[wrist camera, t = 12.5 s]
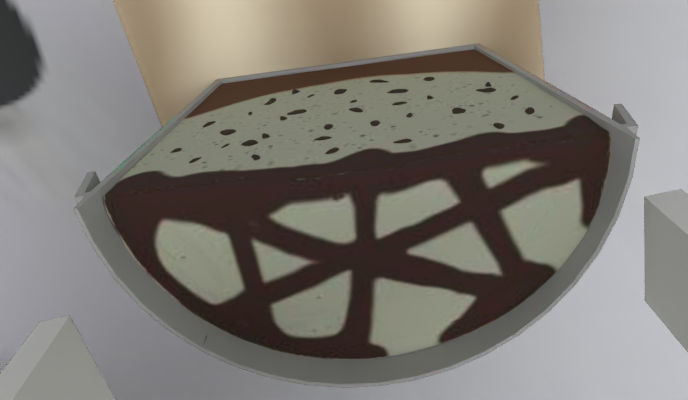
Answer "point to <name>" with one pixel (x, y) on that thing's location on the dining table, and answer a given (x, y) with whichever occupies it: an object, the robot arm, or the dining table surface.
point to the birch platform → (308, 36)
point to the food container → (363, 214)
